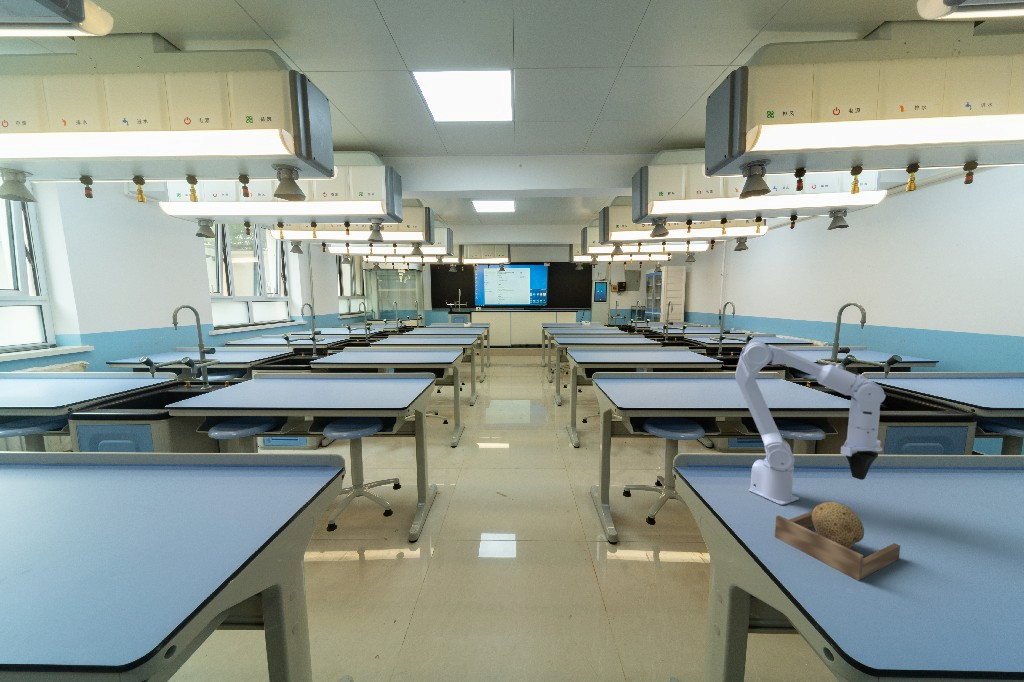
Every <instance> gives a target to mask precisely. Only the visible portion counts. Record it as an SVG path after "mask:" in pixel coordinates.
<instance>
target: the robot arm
mask: <svg viewBox="0 0 1024 682" xmlns="http://www.w3.org/2000/svg"><path fill="white" fill-rule="evenodd" d="M769 363H771V365H773V366H774V365H783V364H784V365H787V366H789V367H792V368H794V369H796V370H799V371H801V372H804V373H806V374H809V375H811V376H814V377H816V381H817V383H818V384H819V385H822V386H824V387H826V388H829V389H831V390H832V391H835V392H838V393H840V394H842V395H844V396H850V398H851V399H850V406H849V411H848V425H847V435H846V440H845V441H844V444H843V445H841V446H840V455H844V456H845V457H846V459H847V461H848V464H849V467H850V468H849V469H850V473H851V476H852V478H855V479H857V480H860V481H863V480H865V479H866V476H867V475H868V473H869V470H870V468H871V465H872V464H873V463H874V461H875V460H876V459H877V458H878V457H879V453H878V452H883V450H884V449H883V447H881V444H882V441H881V440H879V439H878V435H879V426H880V415H881V412H880V411H881V409H880V408H881V404H882V403H883V402H884V401H885V399H886V397H887V395H886V394H885V391H884V389H883V388H882V386H880V385H879V384H877V383H876V382H875V381H872V380H870V379H869V378H867V377H865V376H864V375H863V374H860V373H859V374H858V375H857V374H856V373H853V372H850V371H848V370H846V369H844V366H842V365H840V364H835V365H833V364H827V365H826V364H825V365H821V364H819V363H816V362H813V361H811V360H809V359H807V358H805V357H802V356H800V355H798V354H796V353H793V352H791V351H789V350H788V349H785V348H782V347H779V346H775V345H772V344H768V345H767V344H766V343H765V342H762V341H759V340H754V341H751V342H749V343H747V344H746V345H745V347H744V348H743V349H742V351H741V352H740V355H739V359H738V362H737V366H736V370H735V375H734V378H735V380H736V383H737V385H738V387H739V390H740V392H741V394H742V396H743V398H744V400H745V403H746V405H747V407H748V411H749V413H750V414H751V416H752V418H753V421H754V423H755V425H756V428H757V430H758V432H759V434H760V436H761V439H762V442H763V446H764V451H765V454H766V456H765V458H764V459H756V460H755V461H754V463H753V465H752V466H751V472H750V473H751V474H750V475H751V476H750V486H749V487H750V488H748V491H750V492H752V493H754V494H756V495H758V496H759V497H762V498H765V499H767V500H769V501H771V502H774V503H776V504H778V505H781V506H784V505H786V504H790V503H793V502H796V501H798V500H799V499H800V497H799V496H796V495H793V483H794V482H793V481H794V469H795V466H794V464H795V460H796V459H795V456H794V455H793V453H792V448H791V446H790V444H789V443H788V442H787V440H785V439H784V438H783V436H782V435H781V433H780V431H779V428H778V427H777V424H776V423H775V421H774V418H773V416H772V413H771V411H770V409H769V406H768V404H767V403H766V400H765V398H764V396H763V393H762V391H761V389H760V386H759V385H758V382H757V380H756V377H757V376H758V374H759V373H760V370H762V368H764V367H766V366H767V365H768V364H769Z"/></svg>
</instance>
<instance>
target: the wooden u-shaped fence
mask: <svg viewBox="0 0 1024 682" xmlns="http://www.w3.org/2000/svg"><path fill="white" fill-rule="evenodd" d="M812 512H813V510H811V511H808V512H806V513H804V514H800V515H797V516H795V517H793V518H790V519H788V518H785V517H783V516H781V515H776V516H775V529H774V537H775V538H776V539H778V540H780V541H782V542H784V543H785V544H788V545H790V546H791V547H794V548H795V549H797V550H799V551H801V552H803V553H805V554H806V555H809V556H811V557H812V558H814V559H816V560H818V561H820V562H822V563H824V564H826V565H828V566H830V567H831V568H834V569H835V570H838V571H839V572H841V573H842V574H844V575H846V576H848V577H851V578H852V579H853V580H856V581H858V582H859V581H861V580H862V578H863V579H865V578H866V577H868V576H870V575H872V574H874V573H876V572H877V570H878V571H879V570H881V569H883V568H885V567H886V566H889V565H891V564H892V563H894V562H897V561H898V560H899V559H900V553H901V545H899V544H897V543H896V542H894V543H891V544H890V545H887V546H885V547H883V548H881V549H880V550H878V551H875V552H874V553H871V554H869V555H867V556H865V557H864V555H863V554H861V553H859V552H857V551H854V550H853V549H851V548H847V547H845V546H842V545H840V544H838V543H836V542H834V541H832V540H830V539H828V538H826V537H823V536H821V535H819V534H817V532H816V531H814V530H810V529H809V528H810V527H814V524H813V521H812ZM875 571H876V572H875ZM873 572H874V573H873ZM871 573H872V574H871ZM864 577H865V578H864Z"/></svg>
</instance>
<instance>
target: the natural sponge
mask: <svg viewBox="0 0 1024 682" xmlns="http://www.w3.org/2000/svg"><path fill="white" fill-rule="evenodd" d="M812 511H813V512H812V521H813V524H814V526H813V527H814V529H815V533H817V534H819V535H821V536H823V537H826V538H828V539H830V540H832V541H834V542H836V543H838V544H840V545H842V546H845V547H847V548H849V549H851V548H852V547H853V546H854V545H855V544H856V543H860V542H861V541H862V540H863V539H864V536H865V528H864V524H863V522H862V521H861V519H860V517H859V516H858V514H857V513H856V512H855V511H853V510H852V509H851V508H849V507H848V506H846V505H844V504H842V503H841V502H836V501H835V502H834V501H829V502H822V503H819V504H818V505H816V506H815V507H814V508H813V510H812Z"/></svg>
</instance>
